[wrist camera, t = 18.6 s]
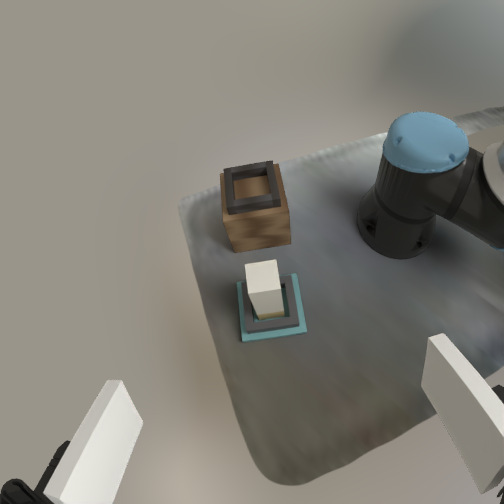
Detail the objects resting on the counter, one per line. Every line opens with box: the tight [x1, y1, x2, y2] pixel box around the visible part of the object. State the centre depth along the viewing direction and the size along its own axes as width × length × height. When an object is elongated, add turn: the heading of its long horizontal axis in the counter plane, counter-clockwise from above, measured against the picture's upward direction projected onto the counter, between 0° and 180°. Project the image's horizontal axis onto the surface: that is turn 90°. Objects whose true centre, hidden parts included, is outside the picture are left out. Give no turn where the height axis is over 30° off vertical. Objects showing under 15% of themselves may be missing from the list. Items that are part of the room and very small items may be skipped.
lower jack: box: [237, 273, 307, 342], centre depth 49 cm, size 10×10×3 cm
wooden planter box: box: [220, 161, 291, 253], centre depth 53 cm, size 10×10×12 cm
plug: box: [245, 260, 285, 320], centre depth 44 cm, size 4×4×12 cm
